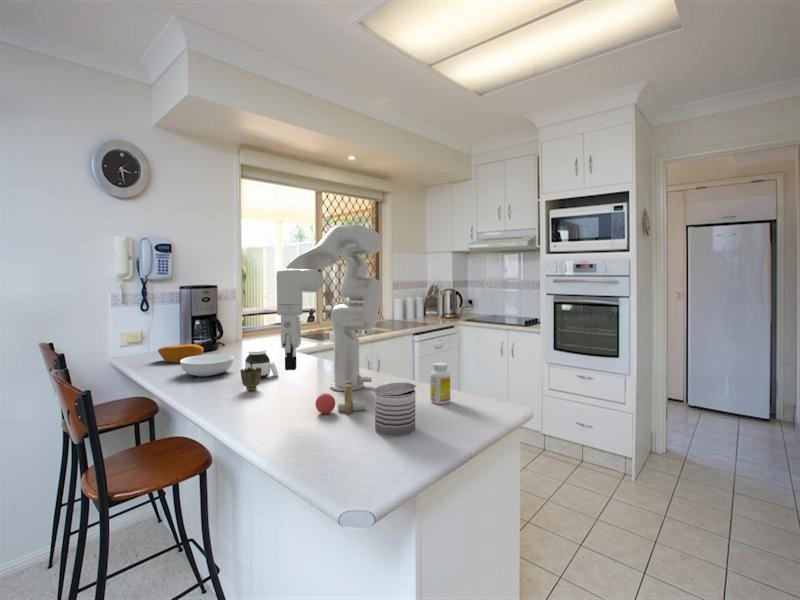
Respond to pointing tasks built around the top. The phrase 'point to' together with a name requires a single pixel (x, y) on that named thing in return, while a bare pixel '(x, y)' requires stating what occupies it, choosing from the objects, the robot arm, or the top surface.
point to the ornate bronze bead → (251, 378)
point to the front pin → (355, 406)
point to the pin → (348, 399)
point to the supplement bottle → (440, 384)
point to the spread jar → (260, 362)
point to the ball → (325, 403)
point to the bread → (180, 352)
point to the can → (395, 409)
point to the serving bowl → (206, 364)
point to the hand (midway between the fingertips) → (290, 369)
